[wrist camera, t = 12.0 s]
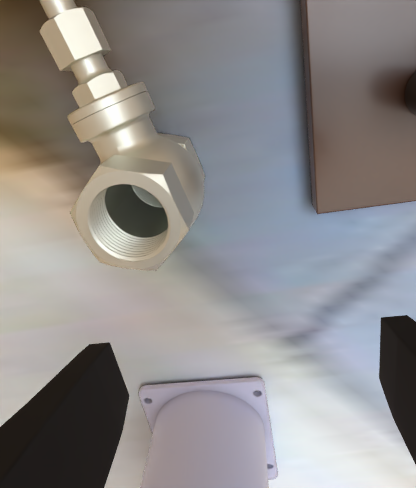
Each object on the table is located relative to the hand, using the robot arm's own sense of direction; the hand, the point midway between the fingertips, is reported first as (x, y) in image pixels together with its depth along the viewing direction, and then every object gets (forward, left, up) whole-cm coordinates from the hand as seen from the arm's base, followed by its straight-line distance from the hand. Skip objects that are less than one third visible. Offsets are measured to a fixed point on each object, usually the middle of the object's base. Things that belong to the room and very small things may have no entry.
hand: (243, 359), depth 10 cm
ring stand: (+5, -8, -9) cm, 13 cm away
